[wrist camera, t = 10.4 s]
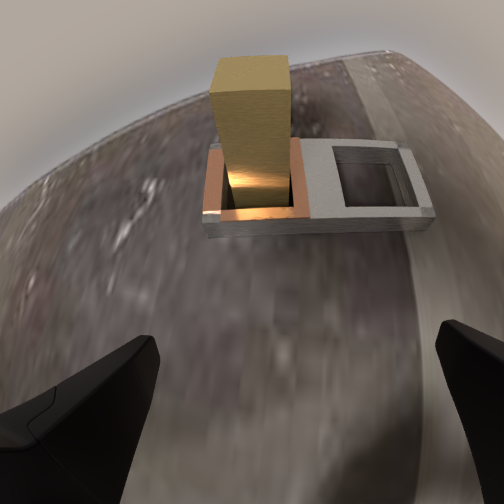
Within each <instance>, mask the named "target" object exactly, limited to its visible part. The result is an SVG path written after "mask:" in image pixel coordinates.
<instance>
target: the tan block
mask: <svg viewBox="0 0 504 504" xmlns="http://www.w3.org/2000/svg"><path fill="white" fill-rule="evenodd" d="M209 96H210V101H211V105H212V109H213V113H214V118H215V122H216V126H217V130H218V135H219V139H220V143H221V147H222V152H223V156H224V160H225V164H226V169H227V173H228V177H229V181H230V185H231V189H232V194H233V198H234V202H235V206H236V209H254V208H276V207H289V178H290V133H291V86H290V74H289V63H288V56H287V55H271V56H270V55H269V56H243V57H229V58H220V59H219V62H218V65H217V68H216V71H215V74H214V78H213V81H212V84H211V87H210V90H209Z"/></svg>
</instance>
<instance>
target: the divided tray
mask: <svg viewBox="0 0 504 504" xmlns="http://www.w3.org/2000/svg"><path fill="white" fill-rule="evenodd" d="M336 163H365V164H391V165H392V167H393V170H394V173H395V176H396V179H397V182H398V185H399V188H400V191H401V194H402V197H403V200H404V203H405V207H345V202H344V198H343V193H342V188H341V183H340V179H339V174H338V170H337V166H336ZM290 173H291V182H292V192H293V203H294V207H276V208H254V209H235V210H227V198H228V179H229V177H228V173H227V169H226V164H225V160H224V156H223V152H222V147H221V143H216V144H211V145H210V150H209V156H208V165H207V173H206V182H205V191H204V201H203V211H202V212H203V218H202V224H203V227H204V229H205V231H206V233H207V235H208V238H219V237H241V236H264V235H289V234H316V233H347V232H384V231H426V229H427V228H428V227H429V226H430V224H431V223H432V222H433V220H434V219H435V218H436V214H435V211H434V208H433V205H432V202H431V200H430V197H429V194H428V191H427V189H426V186H425V183H424V181H423V178H422V175H421V173H420V170H419V168H418V166H417V163H416V161H415V158H414V156H413V154H412V151H411V149H410V147H409V145H408V143H406V142H394V141H380V140H361V139H299V137H290Z"/></svg>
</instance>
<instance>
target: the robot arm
mask: <svg viewBox="0 0 504 504" xmlns="http://www.w3.org/2000/svg"><path fill="white" fill-rule="evenodd" d="M435 347H436V351H437V354H438V357H439V360H440V363H441V366H442V370H443V373H444V376H445V379H446V382H447V386H448V388H449V391H450V393H451V396H452V398H453V401H454V403H455V406H456V409H457V411H458V414H459V417H460V419H461V422H462V425H463V428H464V431H465V434H466V437H467V440H468V443H469V446H470V449H471V452H472V456H473V459H474V463H475V466H476V470H477V473H478V477H479V481H480V485H481V487H482V488H481V490H482V494H483V499H484V504H504V342H502V341H500V340H498V339H495V338H493V337H491V336H489V335H487V334H485V333H482V332H480V331H478V330H476V329H474V328H472V327H469V326H467V325H465V324H463V323H461V322H458V321H456V320H454V319H451V320H446V321H443V322H442V323H441V326H440V329H439V332H438V336H437V339H436V343H435ZM159 366H160V355H159V352H158V348H157V345H156V342H155V339H154V337H153V336H150V335H140V336H138V337H136V338H135V339H133V340H131V341H130V342H128V343H126V344H125V345H123V346H121V347H120V348H118V349H116V350H115V351H113V352H111V353H110V354H108V355H106V356H105V357H103V358H101V359H100V360H98V361H96V362H95V363H93V364H91V365H90V366H88V367H86V368H85V369H83V370H81V371H80V372H78V373H76V374H74V375H73V376H71V377H69V378H68V379H66V380H64V381H63V382H61V383H59V384H58V385H57V386H54V387H52V388H51V389H49V390H47V391H46V392H44V393H42V394H40V395H38V396H37V397H35V398H33V399H31V400H29V401H27V402H25V403H23V404H21V405H18V406H16V407H14V408H12V409H10V410H8V411H5V412H3V413H1V414H0V504H120V501H121V497H122V494H123V490H124V487H125V483H126V480H127V477H128V474H129V470H130V467H131V464H132V461H133V457H134V454H135V451H136V448H137V445H138V442H139V439H140V436H141V433H142V429H143V426H144V423H145V420H146V418H147V415H148V412H149V409H150V405H151V402H152V398H153V393H154V388H155V384H156V379H157V375H158V370H159Z"/></svg>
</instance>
